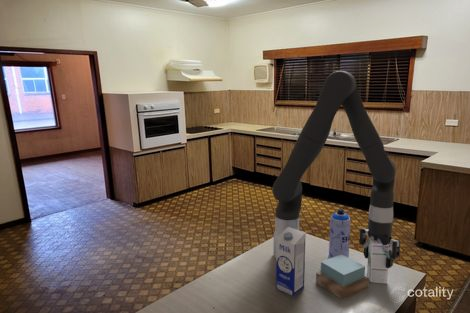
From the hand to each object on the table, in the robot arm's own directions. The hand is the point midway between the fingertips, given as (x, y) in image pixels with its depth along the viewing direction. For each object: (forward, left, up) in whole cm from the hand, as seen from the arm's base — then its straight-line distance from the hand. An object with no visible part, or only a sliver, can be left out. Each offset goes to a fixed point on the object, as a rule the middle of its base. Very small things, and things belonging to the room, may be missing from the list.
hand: (377, 262), depth 115 cm
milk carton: (-12, -29, -6) cm, 32 cm away
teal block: (-4, -13, -3) cm, 14 cm away
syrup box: (0, 0, -6) cm, 6 cm away
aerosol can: (-17, +1, -6) cm, 19 cm away
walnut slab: (-4, -13, -7) cm, 15 cm away
